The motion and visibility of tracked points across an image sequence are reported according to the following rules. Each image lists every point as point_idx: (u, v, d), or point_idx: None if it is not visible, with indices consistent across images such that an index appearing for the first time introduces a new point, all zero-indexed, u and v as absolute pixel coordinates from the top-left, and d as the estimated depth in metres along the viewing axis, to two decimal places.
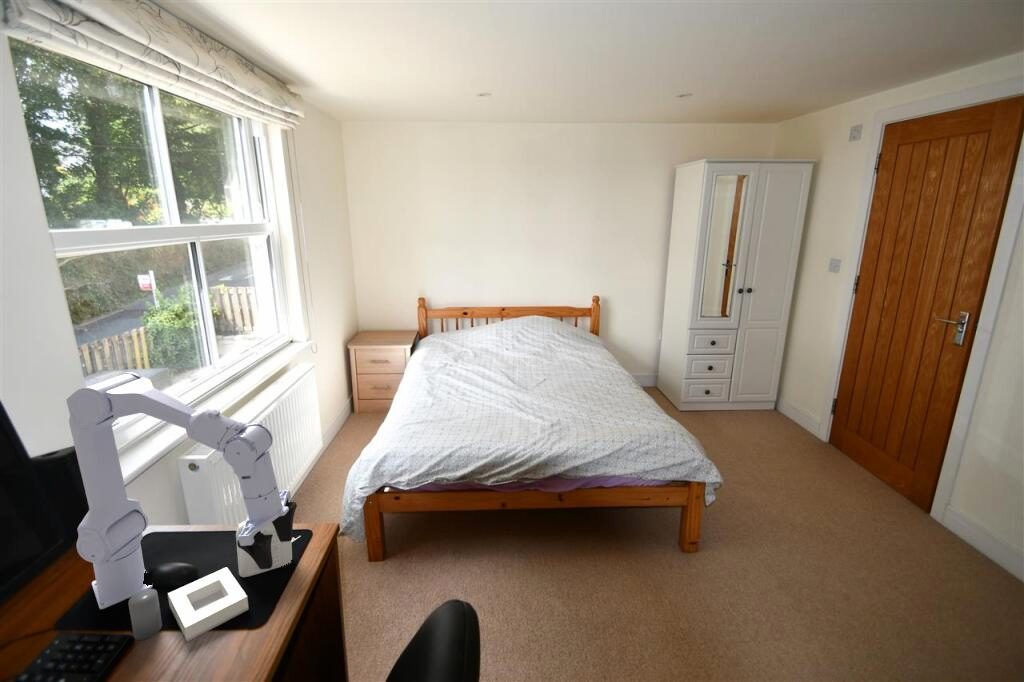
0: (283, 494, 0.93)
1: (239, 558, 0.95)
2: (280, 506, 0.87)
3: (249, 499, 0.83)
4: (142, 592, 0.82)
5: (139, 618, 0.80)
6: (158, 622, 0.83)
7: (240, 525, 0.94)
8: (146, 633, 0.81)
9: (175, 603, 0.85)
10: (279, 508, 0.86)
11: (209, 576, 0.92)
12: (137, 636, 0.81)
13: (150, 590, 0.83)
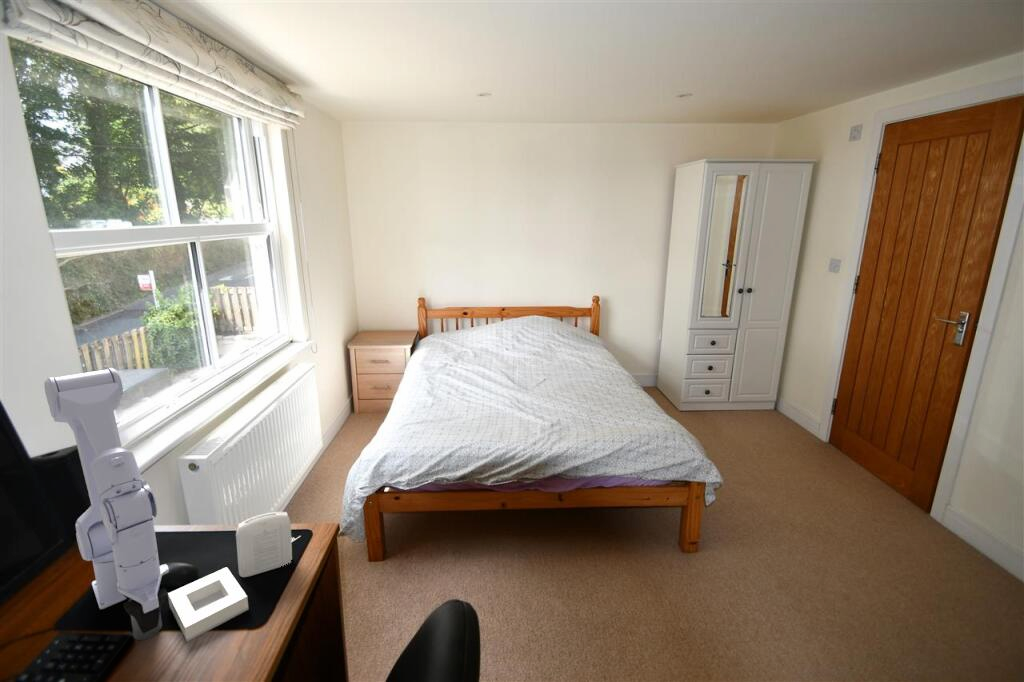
0: None
1: (239, 558, 0.95)
2: None
3: (137, 565, 0.77)
4: None
5: None
6: (158, 622, 0.83)
7: (240, 525, 0.94)
8: (146, 632, 0.81)
9: (175, 603, 0.85)
10: (159, 567, 0.82)
11: (209, 576, 0.92)
12: (137, 636, 0.81)
13: None
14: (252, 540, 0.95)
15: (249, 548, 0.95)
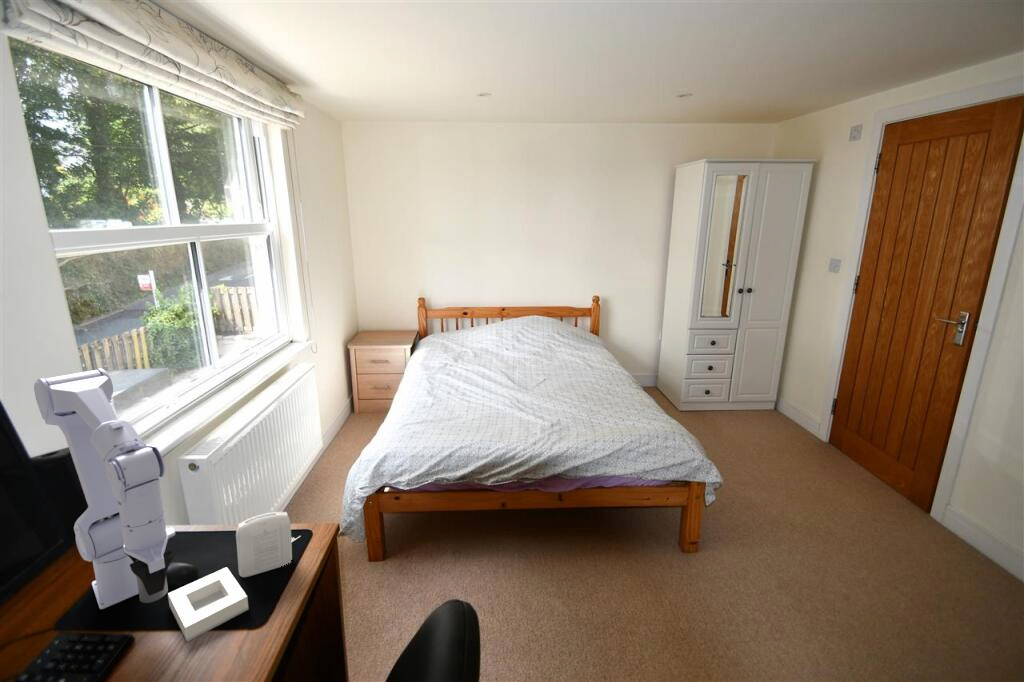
0: None
1: (239, 558, 0.95)
2: None
3: (143, 526, 0.76)
4: None
5: None
6: (164, 586, 0.82)
7: (240, 525, 0.94)
8: (152, 595, 0.80)
9: (175, 603, 0.85)
10: (166, 530, 0.81)
11: (209, 576, 0.92)
12: (143, 599, 0.80)
13: None
14: (252, 540, 0.95)
15: (249, 548, 0.95)
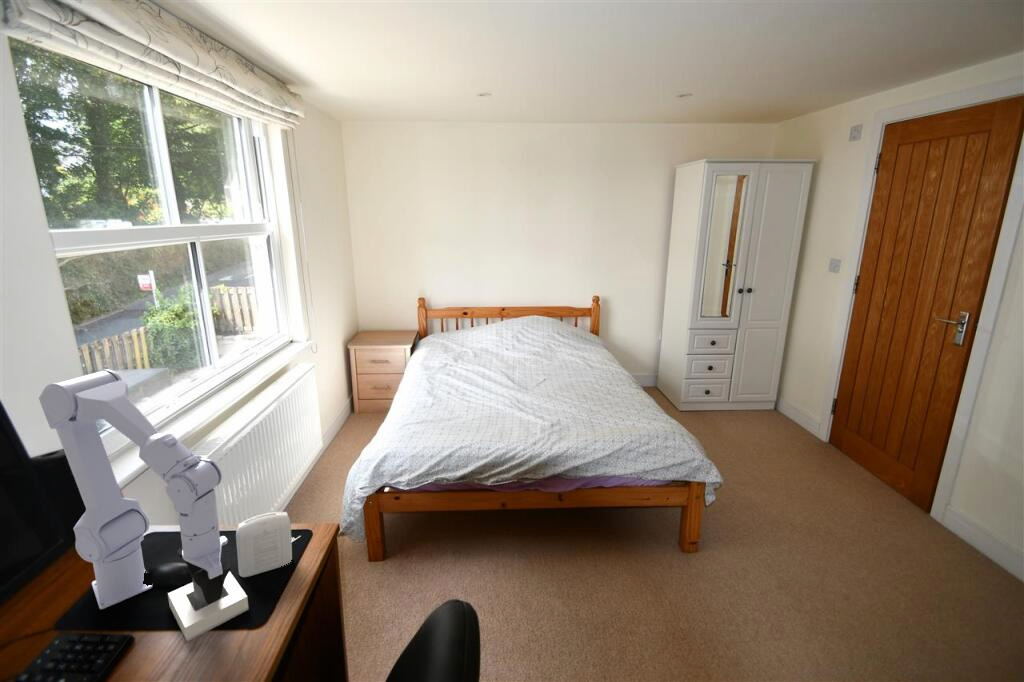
0: None
1: (239, 558, 0.95)
2: None
3: (201, 535, 0.82)
4: (204, 569, 0.88)
5: (202, 593, 0.85)
6: None
7: (240, 525, 0.94)
8: None
9: (175, 603, 0.85)
10: (219, 538, 0.87)
11: None
12: None
13: None
14: (252, 540, 0.95)
15: (249, 548, 0.95)
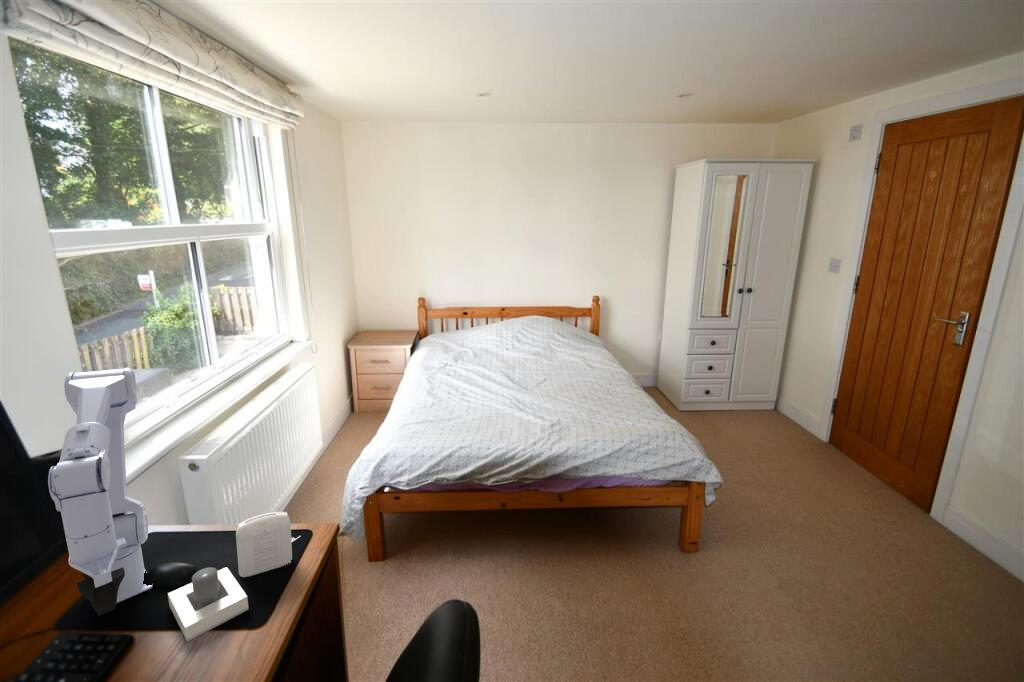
0: None
1: (239, 558, 0.95)
2: None
3: (88, 537, 0.72)
4: (204, 570, 0.87)
5: (201, 594, 0.85)
6: (218, 599, 0.88)
7: (240, 525, 0.94)
8: None
9: (175, 603, 0.85)
10: (116, 541, 0.77)
11: None
12: None
13: (211, 569, 0.88)
14: (252, 540, 0.95)
15: (249, 548, 0.95)
